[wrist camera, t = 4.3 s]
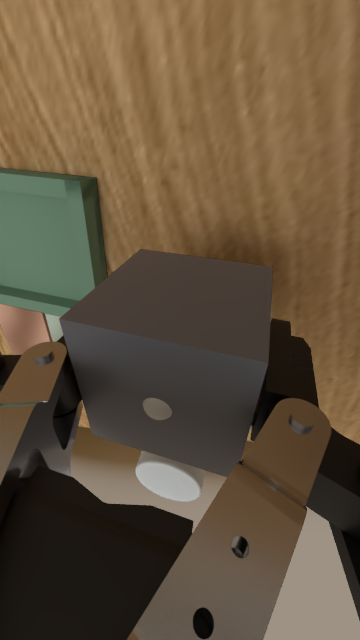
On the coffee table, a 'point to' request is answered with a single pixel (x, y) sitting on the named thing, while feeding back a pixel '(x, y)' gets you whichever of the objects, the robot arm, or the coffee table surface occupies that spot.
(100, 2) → the coffee table surface
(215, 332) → the die
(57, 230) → the tray
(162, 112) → the coffee table surface
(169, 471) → the supplement bottle
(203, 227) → the coffee table surface
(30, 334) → the track
